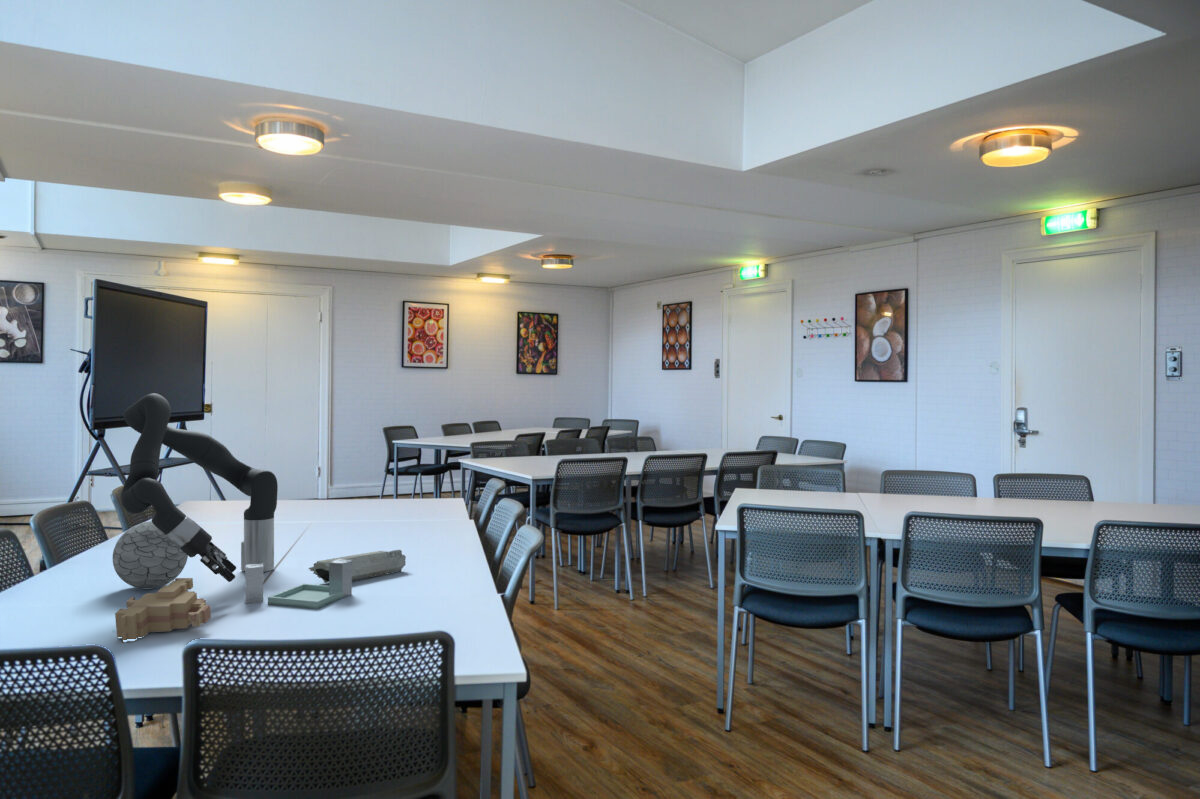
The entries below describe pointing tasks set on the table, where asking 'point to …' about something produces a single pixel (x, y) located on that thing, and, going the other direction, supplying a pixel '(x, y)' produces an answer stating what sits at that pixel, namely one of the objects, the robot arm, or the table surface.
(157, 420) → the robot arm
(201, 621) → the toy
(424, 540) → the table surface
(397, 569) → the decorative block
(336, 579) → the post
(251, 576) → the post
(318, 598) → the tray
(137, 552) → the decorative sphere
